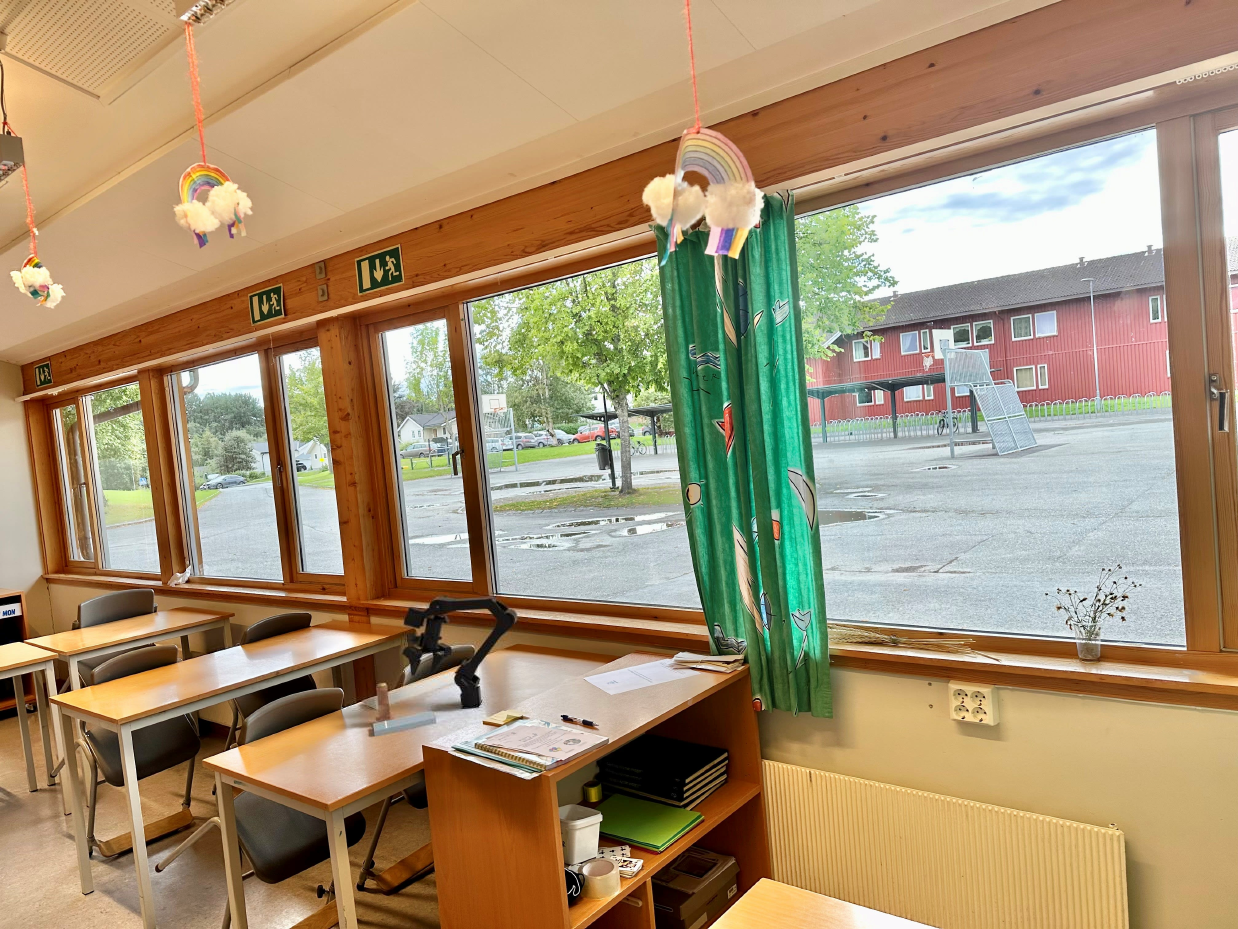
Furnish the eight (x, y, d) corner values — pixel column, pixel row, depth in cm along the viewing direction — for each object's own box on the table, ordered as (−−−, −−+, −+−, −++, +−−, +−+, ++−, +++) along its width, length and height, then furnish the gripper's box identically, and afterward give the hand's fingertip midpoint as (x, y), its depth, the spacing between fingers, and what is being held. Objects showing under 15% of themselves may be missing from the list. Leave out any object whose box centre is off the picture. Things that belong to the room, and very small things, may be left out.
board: (433, 716, 268) (433, 710, 268) (436, 723, 260) (435, 717, 260) (373, 728, 261) (373, 723, 261) (374, 736, 253) (374, 730, 253)
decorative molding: (365, 713, 288) (376, 710, 281) (362, 700, 288) (373, 697, 281) (444, 686, 312) (456, 683, 305) (441, 674, 312) (453, 671, 305)
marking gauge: (394, 719, 268) (389, 680, 268) (395, 724, 264) (390, 684, 263) (376, 723, 266) (371, 684, 266) (376, 727, 262) (372, 687, 261)
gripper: (436, 623, 287) (427, 663, 287) (397, 626, 271) (387, 669, 272) (457, 633, 280) (447, 674, 281) (418, 637, 265) (407, 680, 265)
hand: (422, 674), depth 275 cm, fingers open, 9 cm apart
